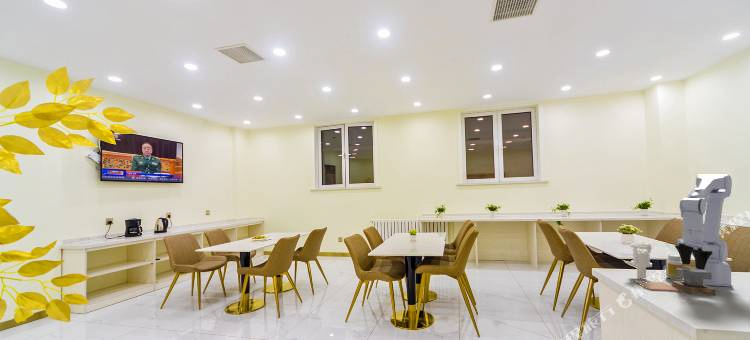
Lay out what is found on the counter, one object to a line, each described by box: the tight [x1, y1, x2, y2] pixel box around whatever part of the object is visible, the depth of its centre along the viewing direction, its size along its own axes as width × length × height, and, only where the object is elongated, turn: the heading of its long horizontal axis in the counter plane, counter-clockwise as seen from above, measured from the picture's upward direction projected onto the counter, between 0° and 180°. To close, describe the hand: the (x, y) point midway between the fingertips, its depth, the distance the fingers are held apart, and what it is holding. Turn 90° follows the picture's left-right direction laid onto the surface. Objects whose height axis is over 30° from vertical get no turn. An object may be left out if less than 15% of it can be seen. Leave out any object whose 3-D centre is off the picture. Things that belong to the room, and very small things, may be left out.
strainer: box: [630, 242, 653, 280], centre depth 148 cm, size 7×7×15 cm
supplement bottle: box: [665, 254, 684, 281], centre depth 148 cm, size 5×5×10 cm
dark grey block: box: [675, 268, 712, 288], centre depth 133 cm, size 9×4×8 cm, turn 80°
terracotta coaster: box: [634, 280, 681, 293], centre depth 136 cm, size 10×10×1 cm
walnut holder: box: [671, 280, 717, 296], centre depth 132 cm, size 9×9×2 cm
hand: (692, 266), depth 133 cm, fingers open, 7 cm apart
